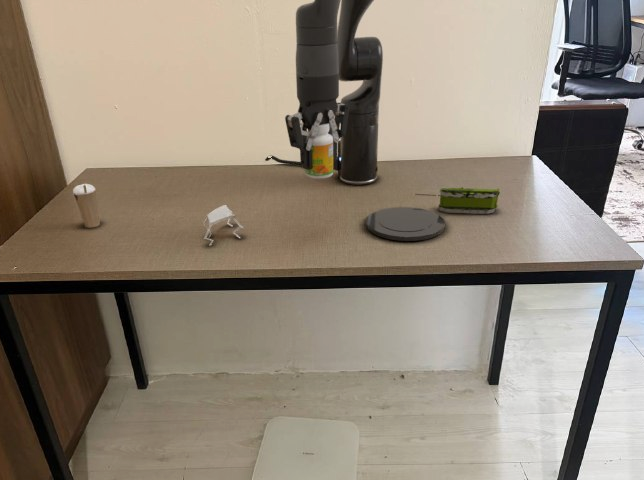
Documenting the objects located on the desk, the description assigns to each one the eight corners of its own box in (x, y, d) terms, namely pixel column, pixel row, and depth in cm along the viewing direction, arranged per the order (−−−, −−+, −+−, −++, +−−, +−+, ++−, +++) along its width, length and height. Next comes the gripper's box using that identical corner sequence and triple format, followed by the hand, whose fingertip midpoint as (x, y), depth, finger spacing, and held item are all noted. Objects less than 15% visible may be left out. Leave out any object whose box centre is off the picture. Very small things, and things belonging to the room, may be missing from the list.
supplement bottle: (301, 177, 108) (299, 126, 103) (311, 168, 113) (310, 118, 107) (327, 180, 106) (326, 128, 101) (337, 171, 111) (337, 120, 106)
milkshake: (84, 232, 122) (72, 187, 117) (80, 223, 126) (69, 180, 121) (105, 227, 124) (95, 183, 119) (101, 219, 128) (91, 176, 123)
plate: (369, 243, 112) (369, 237, 112) (363, 213, 126) (364, 207, 125) (451, 241, 112) (452, 235, 111) (436, 211, 125) (437, 205, 125)
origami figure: (244, 244, 114) (242, 222, 111) (202, 247, 113) (199, 224, 111) (245, 221, 124) (243, 200, 121) (207, 224, 124) (204, 202, 121)
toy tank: (502, 195, 117) (499, 171, 124) (409, 192, 121) (412, 169, 128) (497, 224, 122) (495, 198, 129) (408, 220, 126) (410, 196, 133)
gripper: (332, 63, 106) (333, 152, 115) (271, 74, 98) (277, 169, 107) (361, 67, 101) (359, 160, 110) (299, 79, 93) (303, 178, 102)
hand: (319, 164), depth 109 cm, fingers closed on supplement bottle, 5 cm apart
